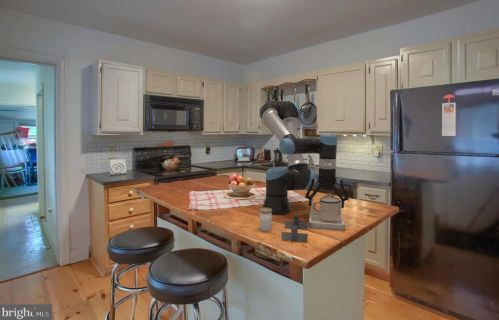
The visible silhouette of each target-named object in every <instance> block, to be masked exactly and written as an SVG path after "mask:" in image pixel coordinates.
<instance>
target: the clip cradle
mask: <svg viewBox="0 0 499 320" xmlns="http://www.w3.org/2000/svg"><path fill="white" fill-rule="evenodd" d="M284 229H290V231H291V232H288V231H281V234H280V235H281V239H282V240H281V241H288V240H291V242H300V241H302V242H301V243H308V235H309V234H308V233H300V232H299V231H298V230H304V229H305V230H307V231H308V230H309V221H308V222H305V221H300V214H293V221H292V220H289V221H288V220H285V221H284Z"/></svg>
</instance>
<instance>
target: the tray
mask: <svg viewBox="0 0 499 320" xmlns="http://www.w3.org/2000/svg"><path fill="white" fill-rule="evenodd" d="M315 228H316V230H317V229H318V230H332V231H342V232H344V231H345V230H346V223H345V222H344V218H343V216H342V214H341V216H339V219H338V220H335V221H327V220H323V219H321V218H320V213H318V212H316V211H313V214H311V210H309V221H308V229H315Z"/></svg>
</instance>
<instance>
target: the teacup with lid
mask: <svg viewBox="0 0 499 320" xmlns="http://www.w3.org/2000/svg"><path fill="white" fill-rule="evenodd" d="M340 200H341V199H340V198H339V197H336V196H334V195H333V194H332V193H331V192H328V193H327V194H326V195H324V196H321V197H320V198H319V201H315V202H313V212H318V213H320V218H321V219H323V220H327V221H335V220H338V219H339V202H340ZM317 204H319V210H318V209H316V207H315V206H316V205H317Z"/></svg>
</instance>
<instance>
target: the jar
mask: <svg viewBox="0 0 499 320" xmlns="http://www.w3.org/2000/svg"><path fill="white" fill-rule="evenodd" d="M272 215H273V214H272V209H271V208H263V207H260V208H259V230H260V231H261V232H270V230H271V231H272V218H273V217H272Z"/></svg>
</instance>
